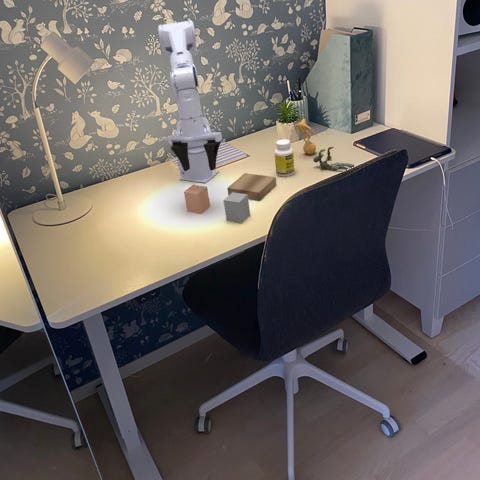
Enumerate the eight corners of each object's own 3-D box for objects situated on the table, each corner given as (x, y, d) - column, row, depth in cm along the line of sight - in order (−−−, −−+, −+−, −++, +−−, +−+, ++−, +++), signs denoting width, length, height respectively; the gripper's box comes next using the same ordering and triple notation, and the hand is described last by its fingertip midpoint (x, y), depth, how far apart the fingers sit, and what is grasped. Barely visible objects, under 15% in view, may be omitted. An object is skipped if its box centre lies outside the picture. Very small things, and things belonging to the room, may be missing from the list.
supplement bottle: (288, 178, 157) (285, 146, 152) (272, 175, 160) (269, 143, 155) (298, 171, 160) (296, 139, 155) (282, 168, 163) (280, 137, 158)
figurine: (324, 154, 169) (322, 116, 162) (312, 161, 165) (310, 123, 159) (303, 149, 174) (301, 112, 168) (291, 155, 171) (288, 118, 164)
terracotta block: (187, 211, 146) (183, 191, 143) (196, 204, 150) (193, 184, 147) (201, 214, 144) (197, 193, 141) (210, 206, 148) (207, 186, 144)
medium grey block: (226, 220, 140) (223, 200, 136) (235, 212, 143) (232, 192, 140) (241, 223, 137) (238, 202, 134) (250, 215, 141) (247, 194, 138)
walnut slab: (228, 197, 152) (227, 187, 150) (246, 182, 159) (244, 173, 157) (260, 202, 147) (259, 192, 145) (276, 186, 154) (275, 177, 153)
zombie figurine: (358, 155, 149) (309, 149, 157) (359, 177, 152) (311, 171, 160) (366, 147, 152) (317, 142, 160) (366, 169, 156) (319, 163, 164)
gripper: (158, 122, 136) (168, 174, 141) (210, 118, 130) (218, 173, 135) (171, 116, 141) (181, 167, 146) (222, 112, 136) (229, 165, 141)
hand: (199, 169), depth 141 cm, fingers open, 7 cm apart
